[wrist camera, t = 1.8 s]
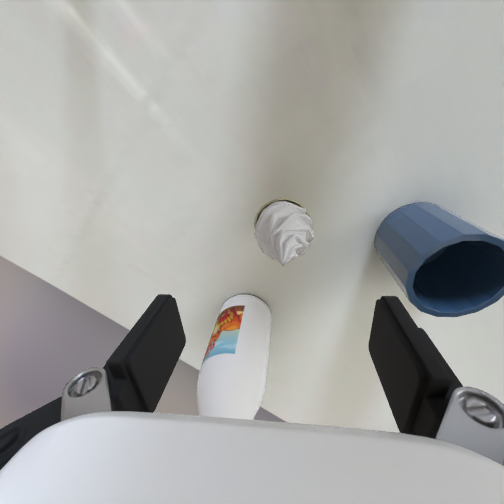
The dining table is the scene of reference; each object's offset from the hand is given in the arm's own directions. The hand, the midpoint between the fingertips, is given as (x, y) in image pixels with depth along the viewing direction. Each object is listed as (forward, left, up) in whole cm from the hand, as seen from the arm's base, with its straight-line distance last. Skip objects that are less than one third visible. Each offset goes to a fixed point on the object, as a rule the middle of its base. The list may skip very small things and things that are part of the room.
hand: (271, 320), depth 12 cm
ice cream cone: (0, 0, -20) cm, 20 cm away
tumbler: (+5, +15, -20) cm, 26 cm away
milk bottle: (+17, -6, -20) cm, 27 cm away
